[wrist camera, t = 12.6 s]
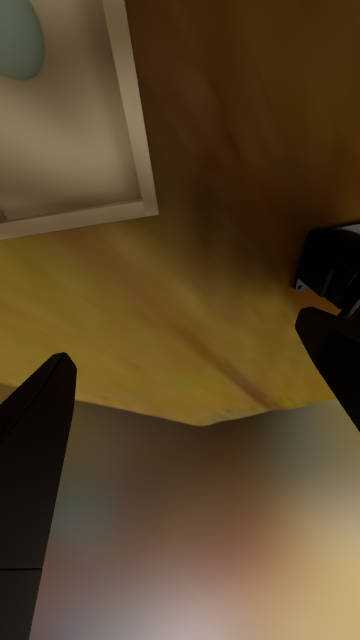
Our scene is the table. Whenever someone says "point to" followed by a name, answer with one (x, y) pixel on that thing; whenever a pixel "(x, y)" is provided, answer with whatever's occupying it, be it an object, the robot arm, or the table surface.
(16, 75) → the pin
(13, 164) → the tray
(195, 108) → the table surface
